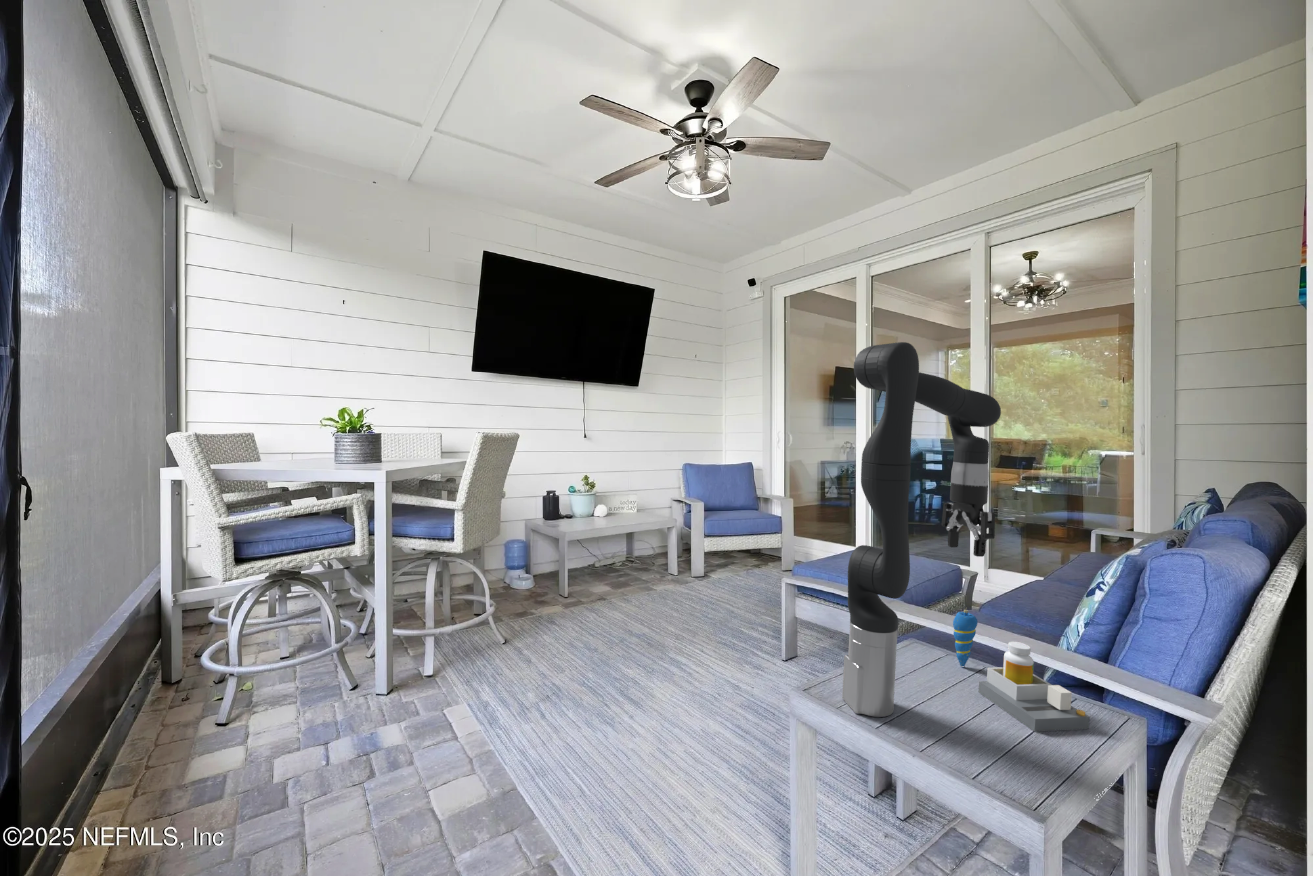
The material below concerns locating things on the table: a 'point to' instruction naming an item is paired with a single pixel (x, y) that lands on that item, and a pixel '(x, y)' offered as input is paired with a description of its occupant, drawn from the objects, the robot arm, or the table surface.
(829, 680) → the table surface
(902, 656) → the table surface
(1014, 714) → the breaker panel
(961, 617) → the ornament
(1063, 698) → the breaker handle
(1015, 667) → the supplement bottle
